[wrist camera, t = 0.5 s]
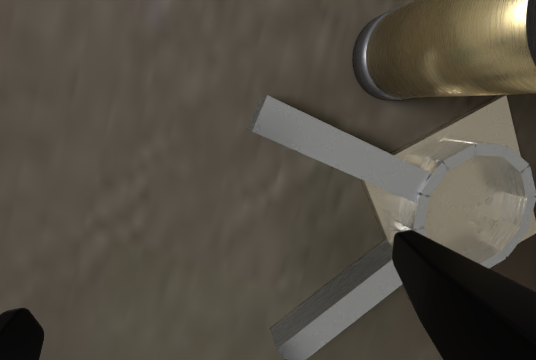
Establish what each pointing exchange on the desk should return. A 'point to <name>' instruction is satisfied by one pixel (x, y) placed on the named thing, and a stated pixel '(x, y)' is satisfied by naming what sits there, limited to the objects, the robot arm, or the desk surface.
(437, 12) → the glass jar
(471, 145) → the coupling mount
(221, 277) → the desk surface
